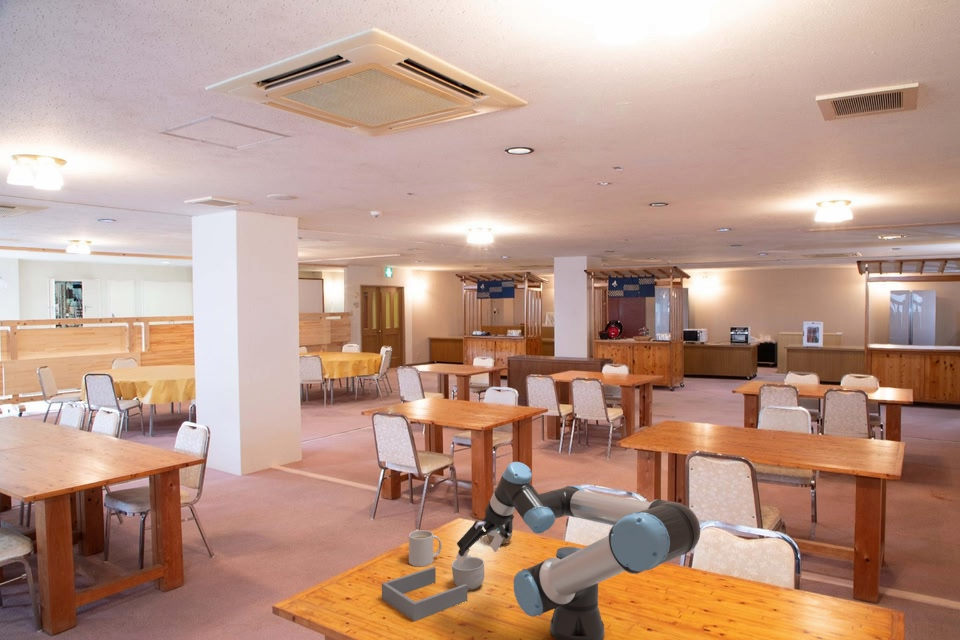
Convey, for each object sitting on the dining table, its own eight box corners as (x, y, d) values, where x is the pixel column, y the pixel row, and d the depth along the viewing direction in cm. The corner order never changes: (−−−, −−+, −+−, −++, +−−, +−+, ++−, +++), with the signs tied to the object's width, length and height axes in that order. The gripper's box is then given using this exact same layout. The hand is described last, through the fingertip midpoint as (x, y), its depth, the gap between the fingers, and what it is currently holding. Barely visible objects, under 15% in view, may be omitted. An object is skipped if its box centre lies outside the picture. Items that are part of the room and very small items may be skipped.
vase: (481, 540, 246) (481, 492, 246) (505, 536, 251) (505, 489, 250) (493, 549, 236) (493, 499, 236) (517, 545, 241) (517, 496, 241)
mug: (404, 565, 223) (404, 537, 222) (415, 555, 232) (415, 528, 232) (433, 568, 219) (433, 540, 219) (442, 558, 228) (442, 531, 228)
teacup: (480, 595, 199) (480, 570, 199) (448, 591, 201) (448, 567, 201) (488, 576, 213) (488, 553, 213) (458, 574, 215) (458, 551, 215)
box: (467, 601, 195) (467, 585, 195) (414, 621, 182) (414, 604, 182) (433, 581, 209) (433, 566, 209) (381, 599, 196) (381, 583, 196)
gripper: (524, 488, 191) (499, 534, 201) (460, 506, 175) (437, 556, 185) (539, 506, 186) (513, 553, 196) (475, 527, 170) (450, 576, 180)
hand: (476, 554), depth 190 cm, fingers open, 13 cm apart
